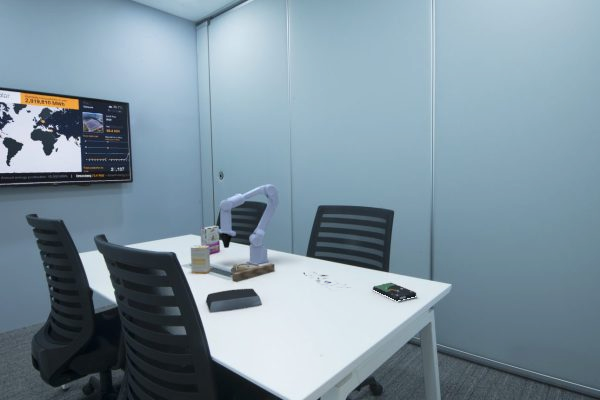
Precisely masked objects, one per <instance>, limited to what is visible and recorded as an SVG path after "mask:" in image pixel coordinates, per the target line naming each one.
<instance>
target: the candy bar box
mask: <svg viewBox="0 0 600 400" xmlns="http://www.w3.org/2000/svg"><path fill="white" fill-rule="evenodd" d="M217 229H220V225H219V226H218V225H210V226H205V227H201V228H200V246H209V252H210V255H213V254H217V253H220V252H221V251H220V247H221V246H220V245H221V244H220V233H217Z"/></svg>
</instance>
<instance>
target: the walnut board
mask: <svg viewBox="0 0 600 400" xmlns="http://www.w3.org/2000/svg"><path fill="white" fill-rule="evenodd" d="M275 268H276V267H275V264H274V263H268V264H264V265H259V267H255V268H251V269H248V270H244V271H240V272H236V273H234V272H231V274H232V275H231V277H232V282H234V283H235V282H236V283H237V282H241V281H244V280H248V279H251V278H255V277H258V276H262V275H266V274H270V273H272V272H276V271H275Z"/></svg>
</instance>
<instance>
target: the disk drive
mask: <svg viewBox="0 0 600 400" xmlns="http://www.w3.org/2000/svg"><path fill="white" fill-rule="evenodd" d="M373 290H375V291H377V292H379V293H381V294H383V295H386V296H388V297H390V298H392V299H394V300H396V301H398V300H403V299H407V298H411V297H415V296H416V297H417V292H415V291H414V290H411V289H408V288H406V287H403V286H401V285H398V284H396V283H393V282H386V283H382V284H380V285H374V286H373V287H372V291H373Z"/></svg>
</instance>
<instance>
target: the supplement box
mask: <svg viewBox="0 0 600 400" xmlns="http://www.w3.org/2000/svg"><path fill="white" fill-rule="evenodd" d="M210 255H211V254H210V252H209V246H201V245H193V246H191V247H190V265H191V266H190V267H191V273H192V274H208V273H210V272H211V257H210Z"/></svg>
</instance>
